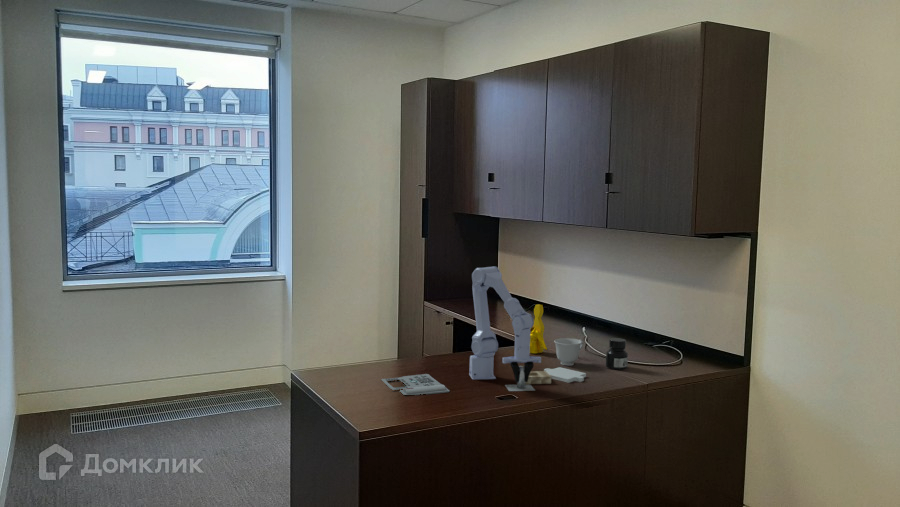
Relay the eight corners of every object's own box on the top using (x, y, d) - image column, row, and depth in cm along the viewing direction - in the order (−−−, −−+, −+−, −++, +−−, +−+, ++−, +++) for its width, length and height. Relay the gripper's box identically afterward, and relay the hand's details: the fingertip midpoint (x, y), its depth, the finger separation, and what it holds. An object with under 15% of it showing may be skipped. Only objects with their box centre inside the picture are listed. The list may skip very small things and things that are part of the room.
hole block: (520, 384, 272) (520, 377, 271) (515, 379, 279) (516, 371, 279) (551, 384, 273) (551, 376, 273) (545, 378, 281) (545, 371, 281)
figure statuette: (514, 350, 328) (515, 303, 326) (525, 347, 333) (526, 301, 331) (543, 357, 315) (545, 308, 313) (555, 354, 320) (556, 306, 318)
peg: (518, 388, 265) (518, 367, 264) (516, 386, 268) (516, 365, 267) (525, 388, 266) (526, 367, 265) (523, 386, 269) (524, 365, 268)
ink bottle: (618, 371, 293) (619, 343, 292) (600, 367, 300) (601, 339, 299) (631, 367, 300) (633, 340, 299) (614, 363, 306) (615, 336, 305)
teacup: (592, 364, 304) (592, 341, 303) (566, 369, 296) (567, 345, 295) (572, 358, 314) (573, 336, 313) (547, 362, 306) (548, 340, 305)
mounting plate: (591, 379, 283) (591, 374, 283) (573, 385, 273) (573, 380, 273) (554, 370, 295) (554, 365, 295) (535, 376, 286) (535, 371, 286)
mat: (509, 391, 262) (509, 391, 262) (504, 385, 270) (504, 384, 270) (535, 391, 264) (535, 390, 264) (529, 385, 272) (530, 384, 272)
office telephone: (450, 387, 261) (399, 392, 253) (450, 394, 261) (399, 399, 253) (427, 370, 282) (379, 374, 274) (427, 376, 282) (379, 381, 274)
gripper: (505, 348, 260) (504, 384, 262) (543, 348, 262) (542, 384, 264) (501, 344, 267) (500, 379, 269) (538, 343, 269) (537, 378, 271)
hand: (521, 381), depth 267 cm, fingers closed on peg, 3 cm apart
